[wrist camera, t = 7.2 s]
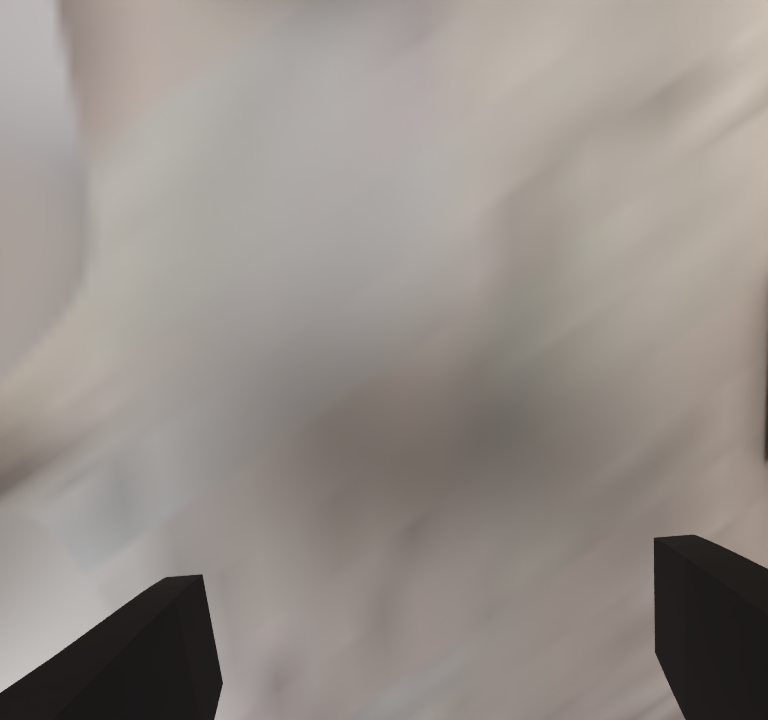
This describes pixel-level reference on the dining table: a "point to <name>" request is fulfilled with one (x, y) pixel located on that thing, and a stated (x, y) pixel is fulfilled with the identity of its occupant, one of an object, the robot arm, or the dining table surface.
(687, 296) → the dining table surface
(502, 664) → the dining table surface
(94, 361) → the dining table surface
